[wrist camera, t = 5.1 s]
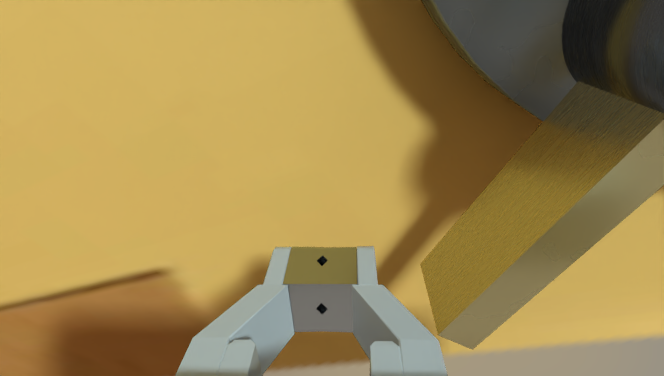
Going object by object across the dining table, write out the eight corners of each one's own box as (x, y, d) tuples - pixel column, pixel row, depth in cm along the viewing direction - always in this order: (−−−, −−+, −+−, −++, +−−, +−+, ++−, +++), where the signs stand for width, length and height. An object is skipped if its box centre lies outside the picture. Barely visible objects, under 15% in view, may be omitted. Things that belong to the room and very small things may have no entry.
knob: (684, -165, 7) (929, -283, 4) (826, -40, 8) (1117, -62, 5) (379, 241, 12) (387, 319, 9) (483, 289, 13) (521, 374, 10)
